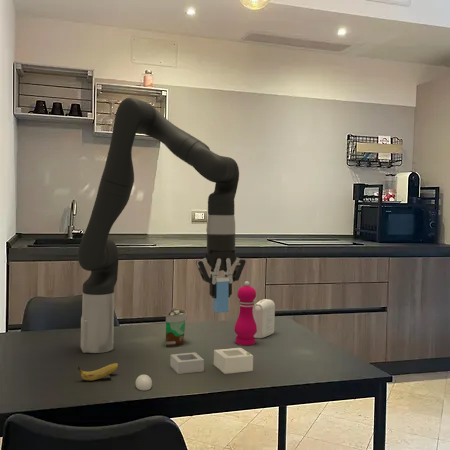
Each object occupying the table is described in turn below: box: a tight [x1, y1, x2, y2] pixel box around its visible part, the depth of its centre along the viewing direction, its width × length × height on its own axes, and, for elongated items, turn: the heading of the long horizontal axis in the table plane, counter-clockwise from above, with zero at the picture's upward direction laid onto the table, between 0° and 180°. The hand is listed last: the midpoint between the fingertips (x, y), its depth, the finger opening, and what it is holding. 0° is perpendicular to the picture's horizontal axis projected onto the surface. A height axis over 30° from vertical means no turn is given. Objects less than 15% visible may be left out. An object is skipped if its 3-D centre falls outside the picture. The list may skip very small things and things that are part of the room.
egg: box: [135, 374, 153, 392], centre depth 126 cm, size 4×6×4 cm, turn 16°
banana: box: [77, 362, 120, 381], centre depth 132 cm, size 10×2×4 cm, turn 108°
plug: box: [212, 275, 229, 314], centre depth 140 cm, size 3×3×9 cm
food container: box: [165, 307, 189, 348], centre depth 168 cm, size 12×6×10 cm, turn 179°
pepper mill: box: [234, 280, 257, 346], centre depth 170 cm, size 7×7×20 cm
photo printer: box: [253, 298, 276, 339], centre depth 181 cm, size 10×4×12 cm, turn 148°
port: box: [213, 347, 254, 375], centre depth 142 cm, size 8×8×5 cm
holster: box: [169, 352, 205, 375], centre depth 140 cm, size 7×7×4 cm
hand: (220, 297), depth 140 cm, fingers closed on plug, 3 cm apart
